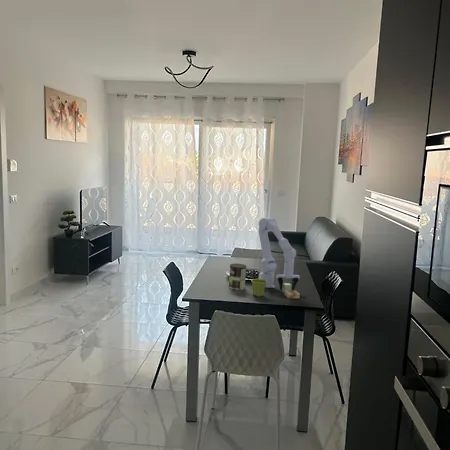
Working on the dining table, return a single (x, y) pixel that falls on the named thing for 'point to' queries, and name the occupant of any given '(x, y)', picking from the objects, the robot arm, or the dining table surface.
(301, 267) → the dining table surface
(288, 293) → the oak block
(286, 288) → the sage cube
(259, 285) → the plant pot
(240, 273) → the coffee can
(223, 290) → the dining table surface
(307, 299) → the dining table surface
